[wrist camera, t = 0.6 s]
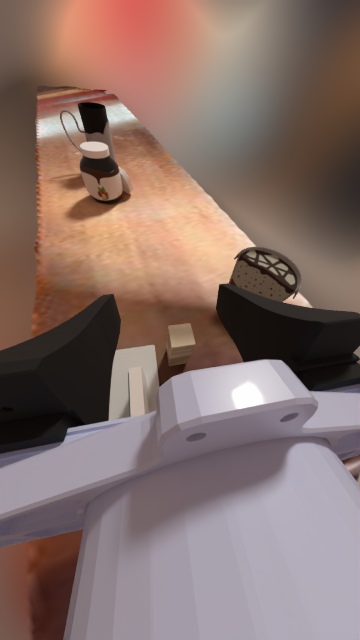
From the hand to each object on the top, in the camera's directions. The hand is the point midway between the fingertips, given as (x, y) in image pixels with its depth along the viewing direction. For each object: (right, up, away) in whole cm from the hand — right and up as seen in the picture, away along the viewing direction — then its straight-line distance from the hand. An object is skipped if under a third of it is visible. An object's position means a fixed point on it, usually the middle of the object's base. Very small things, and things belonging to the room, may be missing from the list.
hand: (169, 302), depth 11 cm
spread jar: (-21, +38, +42) cm, 60 cm away
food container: (+17, +4, +26) cm, 31 cm away
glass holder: (-29, +53, +49) cm, 78 cm away
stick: (0, -8, +17) cm, 19 cm away
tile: (-4, -14, +13) cm, 19 cm away
